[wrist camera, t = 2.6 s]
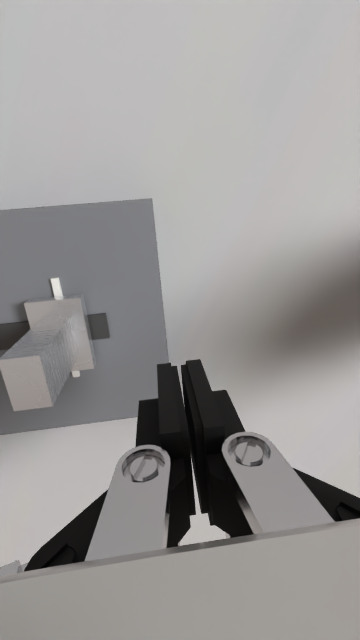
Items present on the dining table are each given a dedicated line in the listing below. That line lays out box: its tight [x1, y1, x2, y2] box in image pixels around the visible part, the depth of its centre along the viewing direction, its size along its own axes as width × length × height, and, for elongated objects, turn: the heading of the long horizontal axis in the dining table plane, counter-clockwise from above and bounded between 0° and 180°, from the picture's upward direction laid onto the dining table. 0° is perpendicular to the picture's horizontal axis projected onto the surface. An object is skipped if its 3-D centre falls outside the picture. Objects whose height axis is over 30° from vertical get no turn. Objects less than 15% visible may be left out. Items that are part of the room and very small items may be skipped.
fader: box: [0, 294, 96, 411], centre depth 15 cm, size 4×3×6 cm
